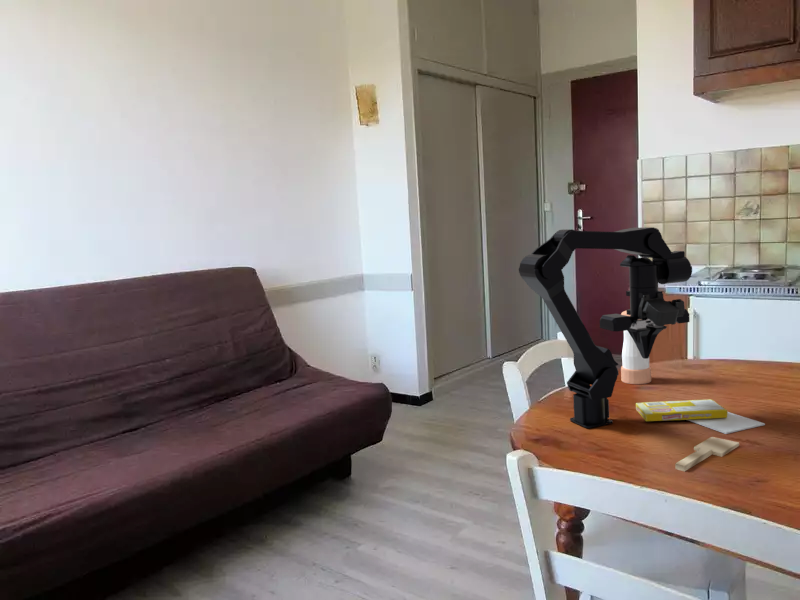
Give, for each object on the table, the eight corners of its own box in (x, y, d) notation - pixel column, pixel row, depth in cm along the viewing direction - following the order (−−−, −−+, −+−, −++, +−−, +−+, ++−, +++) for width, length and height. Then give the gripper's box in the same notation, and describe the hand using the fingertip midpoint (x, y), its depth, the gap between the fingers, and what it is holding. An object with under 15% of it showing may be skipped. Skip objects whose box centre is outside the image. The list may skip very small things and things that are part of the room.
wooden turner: (694, 474, 109) (694, 468, 108) (666, 466, 112) (665, 461, 112) (739, 445, 119) (739, 440, 119) (711, 439, 123) (711, 434, 123)
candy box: (728, 420, 132) (712, 406, 140) (728, 409, 132) (712, 397, 140) (645, 423, 134) (635, 410, 142) (645, 413, 134) (635, 400, 142)
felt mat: (725, 434, 125) (725, 432, 125) (665, 412, 140) (665, 411, 140) (764, 424, 129) (764, 423, 129) (702, 404, 144) (702, 403, 144)
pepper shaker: (630, 375, 172) (628, 304, 169) (656, 379, 166) (654, 305, 164) (615, 381, 167) (613, 308, 164) (642, 385, 162) (640, 309, 159)
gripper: (628, 294, 128) (630, 371, 130) (707, 285, 133) (708, 360, 135) (597, 289, 139) (599, 360, 141) (671, 281, 144) (672, 350, 146)
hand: (645, 358), depth 140 cm, fingers closed
